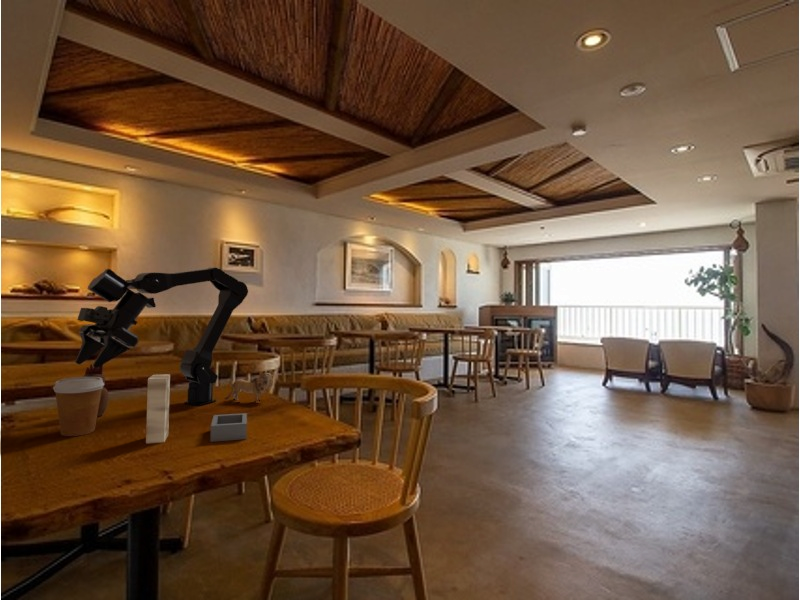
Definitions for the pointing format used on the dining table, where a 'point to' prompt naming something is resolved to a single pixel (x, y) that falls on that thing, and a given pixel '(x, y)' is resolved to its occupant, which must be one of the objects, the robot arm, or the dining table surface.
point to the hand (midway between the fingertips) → (85, 365)
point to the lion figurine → (252, 386)
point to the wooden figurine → (104, 393)
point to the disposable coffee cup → (78, 404)
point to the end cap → (228, 427)
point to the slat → (158, 408)
